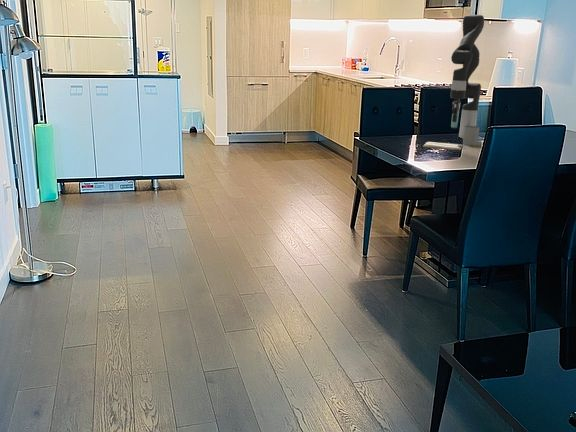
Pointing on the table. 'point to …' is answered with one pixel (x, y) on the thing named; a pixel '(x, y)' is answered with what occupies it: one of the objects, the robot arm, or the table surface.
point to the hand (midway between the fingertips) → (454, 121)
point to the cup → (471, 135)
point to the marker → (454, 124)
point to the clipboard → (443, 145)
